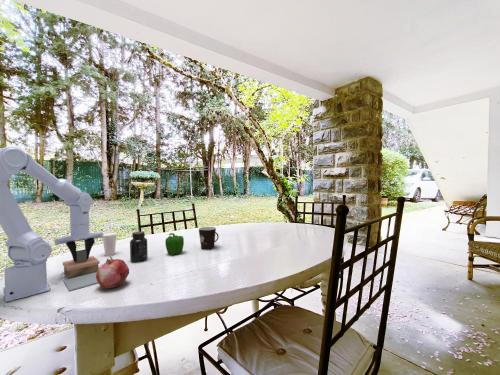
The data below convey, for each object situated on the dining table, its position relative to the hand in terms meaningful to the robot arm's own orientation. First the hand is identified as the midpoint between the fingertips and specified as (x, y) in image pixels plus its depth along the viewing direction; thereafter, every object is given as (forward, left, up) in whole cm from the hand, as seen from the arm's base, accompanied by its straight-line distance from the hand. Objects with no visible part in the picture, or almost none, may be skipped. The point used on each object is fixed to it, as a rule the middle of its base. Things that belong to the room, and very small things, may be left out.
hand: (81, 260), depth 86 cm
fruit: (+4, -22, -5) cm, 23 cm away
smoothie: (+14, +16, -5) cm, 22 cm away
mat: (0, -11, -5) cm, 12 cm away
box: (0, 0, -5) cm, 5 cm away
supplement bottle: (+20, -2, -5) cm, 21 cm away
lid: (0, 0, -2) cm, 2 cm away
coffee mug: (+50, -12, -5) cm, 52 cm away
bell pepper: (+35, -6, -5) cm, 36 cm away
